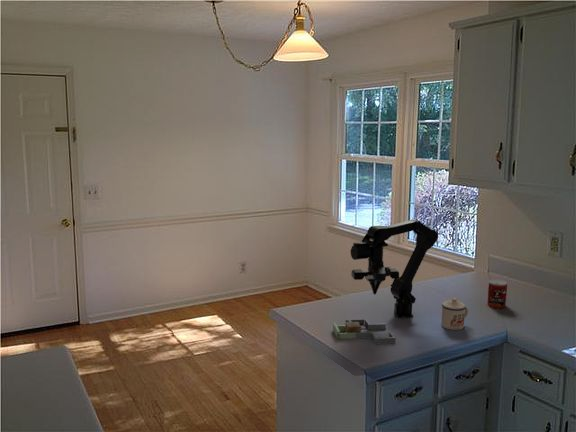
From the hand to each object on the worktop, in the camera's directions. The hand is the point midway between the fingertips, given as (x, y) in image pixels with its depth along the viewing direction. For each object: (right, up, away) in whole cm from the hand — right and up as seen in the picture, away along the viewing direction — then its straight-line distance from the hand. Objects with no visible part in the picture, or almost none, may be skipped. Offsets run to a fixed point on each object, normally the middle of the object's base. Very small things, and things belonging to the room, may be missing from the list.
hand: (374, 294), depth 223 cm
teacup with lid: (+32, -12, -4) cm, 34 cm away
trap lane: (-7, -13, -13) cm, 20 cm away
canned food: (+58, -8, +19) cm, 61 cm away
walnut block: (-10, -14, -13) cm, 22 cm away
